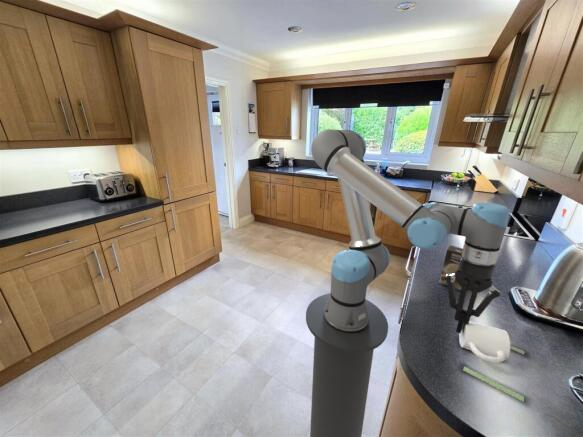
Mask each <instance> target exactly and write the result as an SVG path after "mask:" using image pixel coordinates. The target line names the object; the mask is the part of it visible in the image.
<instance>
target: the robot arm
mask: <svg viewBox="0 0 583 437" xmlns="http://www.w3.org/2000/svg"><path fill="white" fill-rule="evenodd" d="M310 151H311V156H312V159H313V160H314V162H315V163H316V164H317V166H319V168H321V169H322V170H323V171H324V172H325V173H326V174H328V175H329V176H333V175H334V176H336V178H337V181H338V186H339V189H340V190H339V191H340V195H341V199H342V203H343V207H344V212H345V217H346V221H347V226H348V231H349V235H350V241H349V243H348V250H342V251H339V252H338V253H336V254H335V255H334V257H333V259H332V264H331V278H330V297H329V299H328V301H327V303H326V305H325V308H324V318H325V320H326V322H327V323H328V324H329V325H330V326H331V327H332V328H334V329H336V330H338V331H341V332H345V333H357V332H360V331H362V330H364V329H365V328H366V327H367V325H368V321H369V314H368V310H367V306H366V302H365V299H366V297H367V291H368V290H367V289H368V286H369V285H370V284H371V283H372V282H373V281H375V280H376V279H377V278H378V277H380V275H382V274H383V273H384V272H385V271H386V270H387V268H388V267H389V266H390V262H391V255H390V251H389V249H388V247H387V246H385V245H384V244H383V242H382V239H381V237H379V236H378V235H377V234H376V231H375V228H374V223H373V222H374V221H373V218H372V213H371V209H370V208H371V207H370V204H372V205H373V206H375V207H376V208H377V209H378V210H380V212H382V213H384V215H386V217H388V218H390V219H391V220H392V221H393V222H395V223H396V224H397V225H398V226H400V227H401V228H402V229H404V230H405V231H406V232H407V237H408V240H409V242H410V243H411V244H412V245H413V246H414V247H416V248H418V249H421V250H432V249H434V248H437V247H438V246H439V245H440V244H442V243H443V242H445V240H446V238H447V237H448V235H449V234H450V235H454V236H459V237H465V239H464V243H463V246H462V249H463V250H462V257H461V259H460V263H459V267H458V270H457V271H456V272H455V274H449V273H448V274H446V276H445V280H446V282H447V284H448V286H447V292H448V301H449V302H448V303H449V307H450V308H451V309H454V310H455V314H454V320H455V321H457V326H456V329H455V332H456V333H458V334H459V333H461V330H462V327H463V323H464V324H467V325H468V324H469V321H471V317H475V318H479V317H480V316H481V315H482V313H483V312H484V311H485V310H486V309H487V308H488V306H489V305H490V304H491V302H492V301H493V300H494V299H497V298H499V297H500V296H501V289H500V288H498V287H496V286H494V285H493V281H492V278H493V275H494V271H495V268H496V266H495V264H497V261H498V258H499V254H500V250H501V246H502V242H503V240H504V236H505V233H506V231H507V227H508V224H509V218H510V214H511V212H510V209H509V208H508V207H507V206H505V205H502V204H499V203H493V202H476V203H473V206H472V207H471V208H463V207H459V206H453V205H445V204H440V203H430V202H425V203H424V204H422V203H421V202H420V201H418V200H416V199H415V198H414V197H412V196H411V195H410V194H409V193H407V192H405V191H404V190H402V189H401V188H400V187H398V186H397V185H395V184H394V183H393V182H391V181H390V180H389V179H387V178H386V177H384V176H383V175H382V174H380V173H378V172H377V171H375V169H373V168H372V167H370V166H369V165H367V164H366V163H365V159H364V158H365V154H366V151H367V144H366V140H365V138H364V137H363V135H361V134H360V133H359V132H357V131H354V130H351V129H331V128H330V129H329V128H328V129H323V130H322V131H320V132H319V133H318V134H317V135H316V136H314V138H313V140H312V142H311V147H310ZM369 203H370V204H369ZM455 278H456V279H457V281H458V283H459V285H460V286H461V287H462V288H461V291H460V293H459V297H458V302H457V298H456V289H455V285H454V281H455ZM486 290H487V293H486V295H485V296H484V298H483V299H482V300H481V302H480V303H479V304H478V306H477V307H476V308H475V309H474V306H475V304H476V300H477V295H478V293H482V292H484V291H486ZM468 291H469V292H471V294H470V296H469V297H470V298H469V302H468V305H467V308H466V309H464V304H465V300H466V295H467V292H468Z"/></svg>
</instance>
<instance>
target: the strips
mask: <svg viewBox="0 0 583 437" xmlns="http://www.w3.org/2000/svg"><path fill="white" fill-rule="evenodd" d="M510 351H514V352H515V353H518V354H521V355H523V356H525V351H524V350H523V349H520V348H517V347H516V346H513V345H511V344H510ZM462 371H463V372H464V373H467V374H469V375H471V376H473V377H474V378H476V379H478V380H480V381H482V382H484V383H486V384H488V385H489V386H491V387H494V388H496V389H497V390H499V391H501V392H503V393H505V394H507V395H509V396H511V397H512V398H515V399H517V400H519V401H520V402H525V396H523V395H522V394H520V393H518V392H516V391H514V390H512V389H510V388H508V387H506V386H504V385H502V384H500V383H498V382H497V381H494V380H492V379H490V378H489V377H487V376H484V375H482V374H480V373H478V372H476V371H475V370H472V369H470V368H469V367H467V366H463V369H462Z"/></svg>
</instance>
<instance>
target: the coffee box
mask: <svg viewBox="0 0 583 437" xmlns="http://www.w3.org/2000/svg"><path fill="white" fill-rule="evenodd" d="M462 250H463V247H459V246H455V245H449V246H448V247H447V250H446V252H445V257H444V261H443V265H442V269H441V272H440V276H439V281H438V283H439V284H441V285H444V286H447V287H448V284H447V282H446V280H445V276H446V274H448V273H449V274H455V272H456V271H457V270H458V267H459V263H460V259H461V257H462ZM454 285H455V290H459V291H460V292H461V288H462V287H461V286H460V285H459V283H458V281H457V279H456V278H455V281H454Z"/></svg>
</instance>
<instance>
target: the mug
mask: <svg viewBox="0 0 583 437" xmlns="http://www.w3.org/2000/svg"><path fill="white" fill-rule="evenodd" d="M458 341H459V346H460V347H461V348H462V349H465V350H468V351H471V352H472V353H473V354H474V355H475V356H476V357H478V358H479V359H481V360H483V361H486V362H489V363H501V362H504V361H506V360H507V359H508V358H509V356H510V352H511V349H510V345H511V338H510V335H509V333H508V331H506V330H505V329H502V328H499V327H498V328H497V327H494V326H490V325H486V324H483V323H479V322H475V321H471V320H469V324H468V325H467V324H464V323H463V327H462V330H461V333H458Z"/></svg>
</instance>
